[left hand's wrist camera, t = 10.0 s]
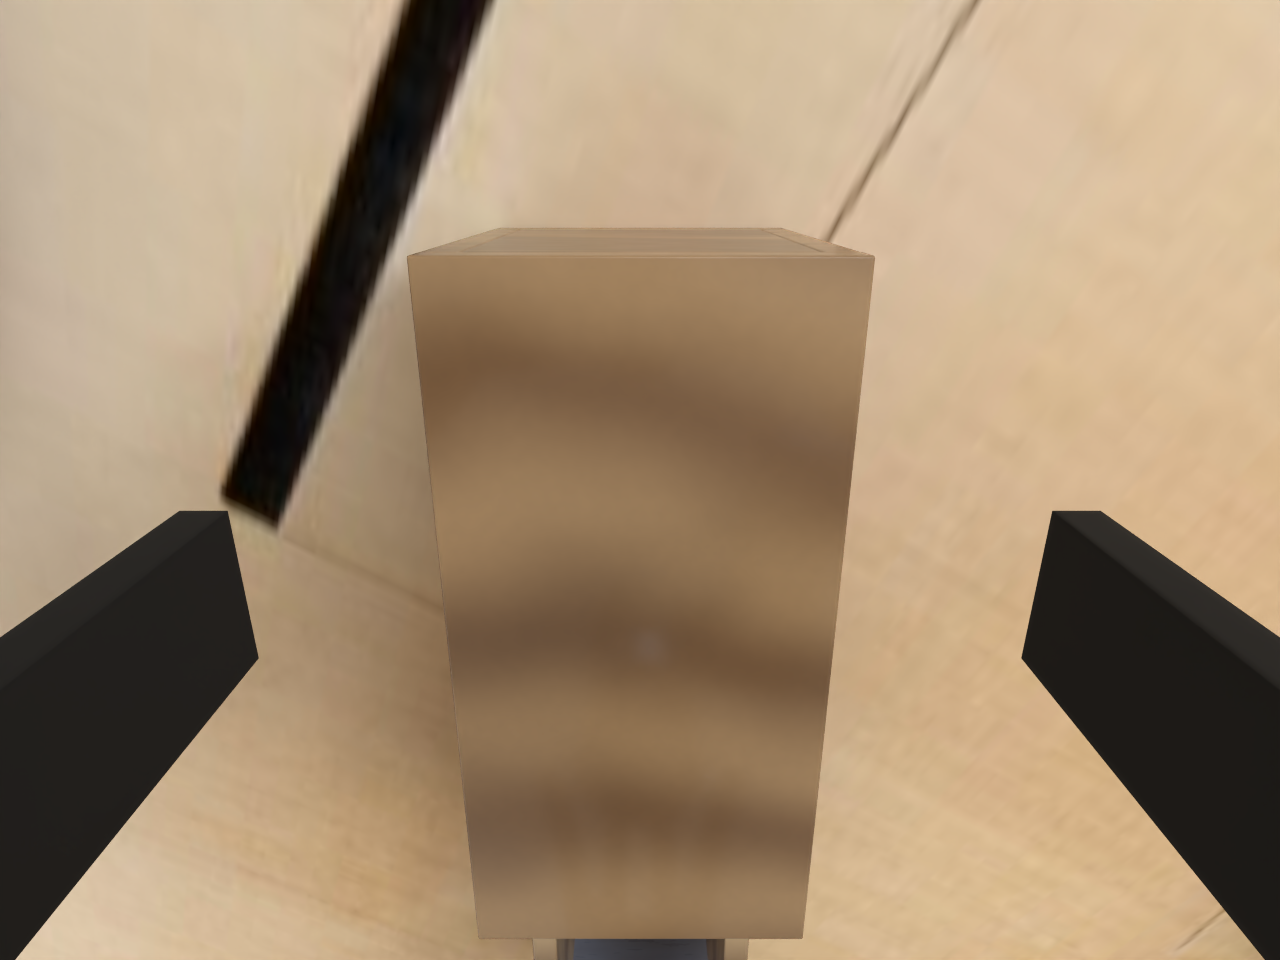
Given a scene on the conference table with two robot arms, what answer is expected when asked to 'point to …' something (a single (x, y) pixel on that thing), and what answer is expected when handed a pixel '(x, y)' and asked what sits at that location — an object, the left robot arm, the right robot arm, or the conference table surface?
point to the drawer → (640, 949)
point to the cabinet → (640, 564)
